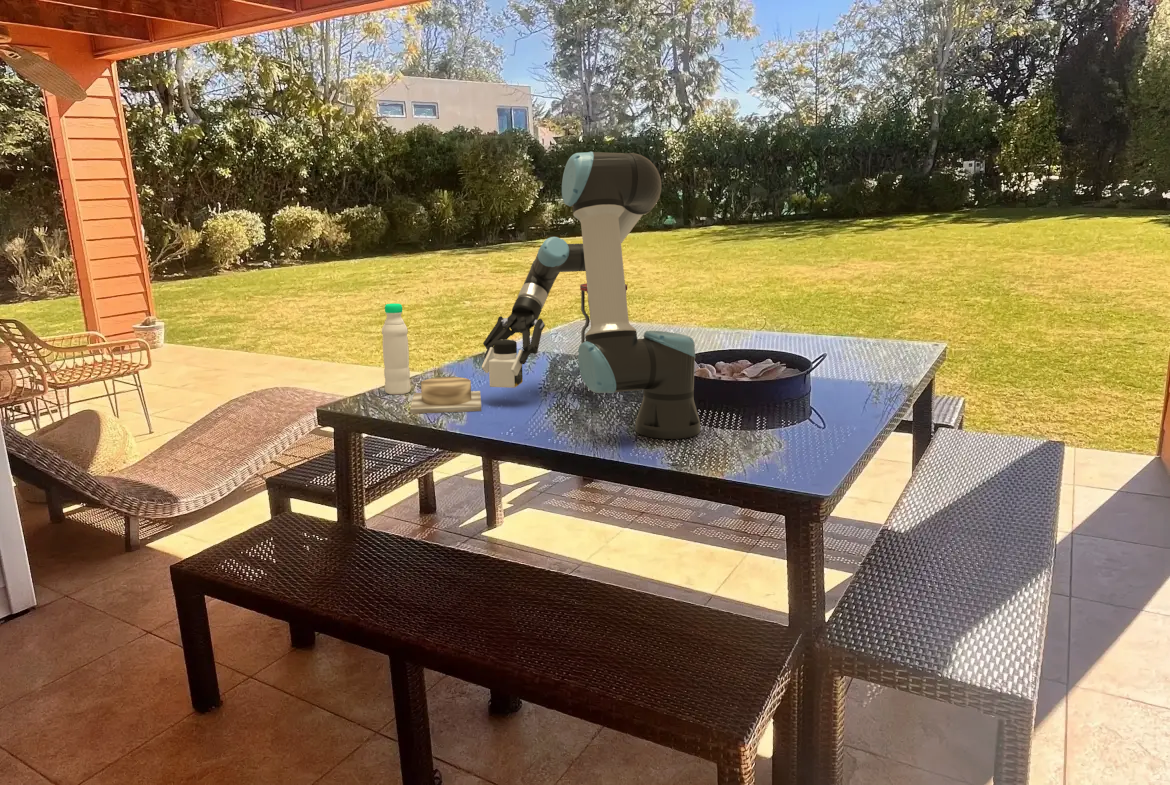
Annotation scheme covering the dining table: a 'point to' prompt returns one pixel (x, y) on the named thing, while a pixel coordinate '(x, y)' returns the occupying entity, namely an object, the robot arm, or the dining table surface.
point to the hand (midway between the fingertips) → (499, 371)
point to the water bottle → (395, 351)
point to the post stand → (446, 396)
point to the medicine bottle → (504, 365)
